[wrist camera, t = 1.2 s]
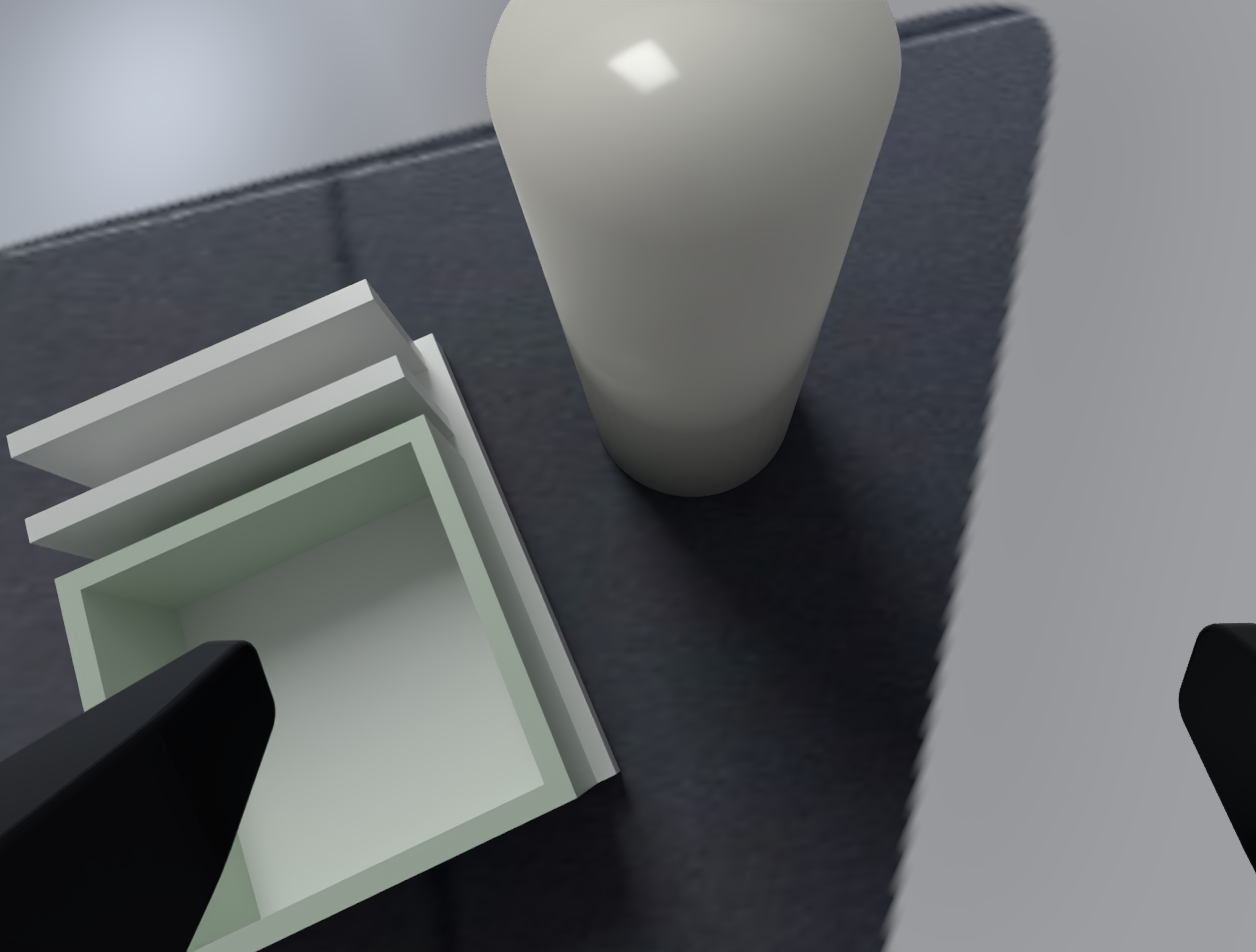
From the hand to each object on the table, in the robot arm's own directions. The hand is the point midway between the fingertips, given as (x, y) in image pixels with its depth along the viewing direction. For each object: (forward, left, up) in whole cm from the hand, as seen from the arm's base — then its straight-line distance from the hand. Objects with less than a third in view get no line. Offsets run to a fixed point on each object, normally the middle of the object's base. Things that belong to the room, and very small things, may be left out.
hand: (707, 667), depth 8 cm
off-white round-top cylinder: (+7, +5, -13) cm, 16 cm away
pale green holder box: (-4, +9, -13) cm, 16 cm away
